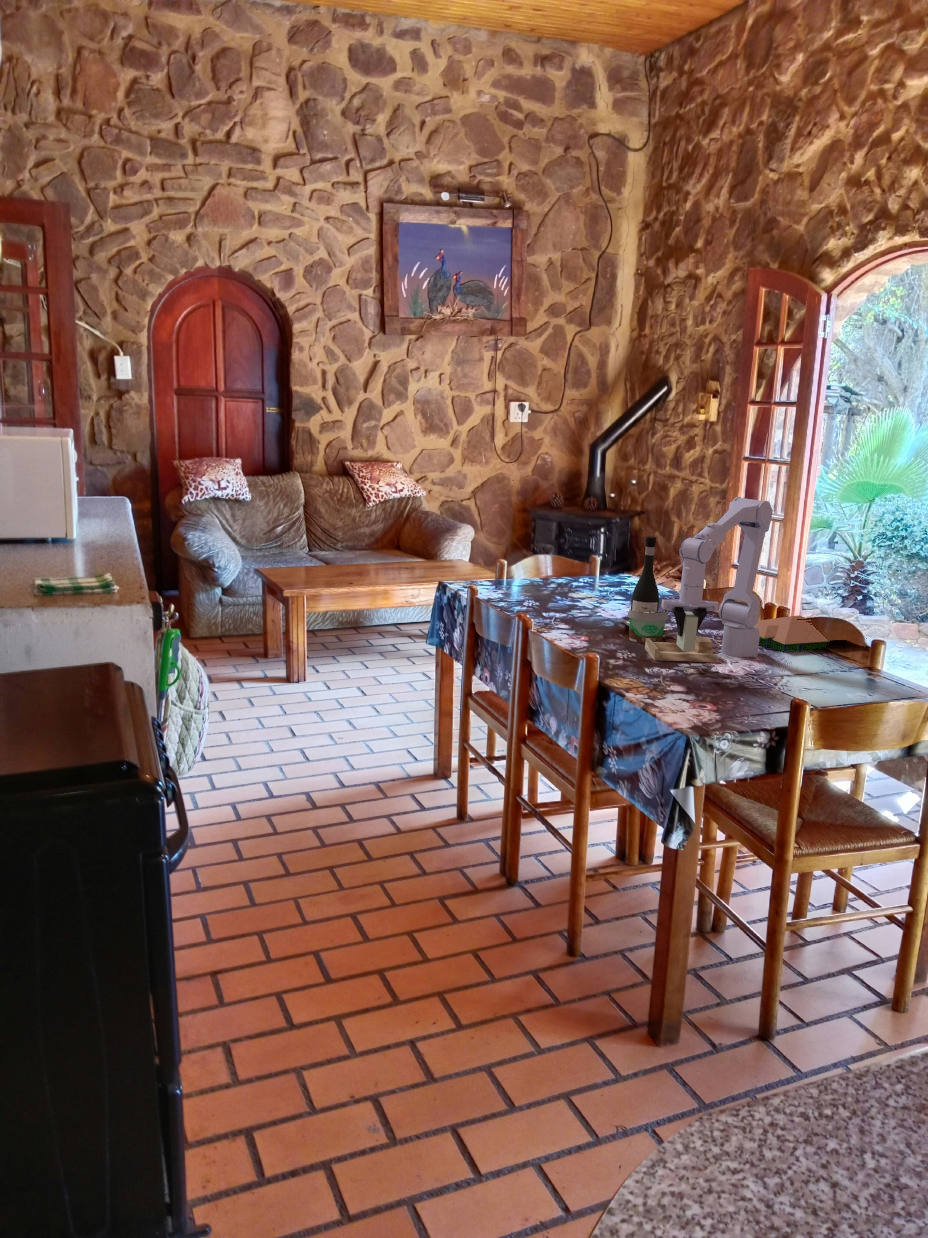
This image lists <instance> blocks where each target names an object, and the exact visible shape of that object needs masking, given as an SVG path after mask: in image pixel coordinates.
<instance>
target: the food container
mask: <svg viewBox="0 0 928 1238" xmlns="http://www.w3.org/2000/svg"><path fill="white" fill-rule="evenodd" d="M626 616H627V617H628V618H629V619H628V621H629V622H628V624H629V626H628V637H629V638H628V639H629V641H632V642H634V643H638V644H644V645H645V642H646V638H649V639H650V640H651V641H652V642H663V641H662V640H663V636H664V631H665V626H666V621H667V620H668V619H669V613H668V609H667V608H664V611H658V612H653V611H643V612H636V611H632V610H631V608H630V609H629V610H628V611H627V615H626Z"/></svg>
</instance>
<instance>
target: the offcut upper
mask: <svg viewBox="0 0 928 1238" xmlns="http://www.w3.org/2000/svg"><path fill="white" fill-rule="evenodd" d="M695 646H696V647H697V648H698V649H699V650H713V641H712V640H711V639H710V638H709V637H708V636H696V643H695Z"/></svg>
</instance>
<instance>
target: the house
mask: <svg viewBox="0 0 928 1238" xmlns="http://www.w3.org/2000/svg"><path fill="white" fill-rule="evenodd" d="M797 619H808V618H806V617H804V616H802V615H789V616H783V617H777V618H768V619H761V620H758V622H757V623H756V625H755V626H756V627H757V628H758V630H759V642H760V643H762V644H760V646H761V647H763V646H764V647H763V648H766V647H767V646H768V645H770V648H775V650H776V649H777V651H778V650H779V651H780V650H781V651H782V652H783V651H784V652H787V651H790V649H788V647H785V646H788V645H789V646H790V648H792V647H793V649H792V650H796V649H797V650H798V651H799V650H800V651H804V650H806V648H810V650H813V649H815V646H817V647H819V648H822V647H823V648H824V647H825V646H824V645H825V644H827V642H828V643H829V641H828V640H827V639H826V638H825V637H824V636H823V635H822V634H821V633H820V632H819V631H818V630H816V628H815V627H814V626H813V625H810V624H812V623H808V622H806V621H812V620H811V619H809V620H797ZM865 638H866V639H865V640H867V639H868V638H867V637H865ZM770 639H771V640H770ZM768 640H769V641H768ZM763 641H764V643H763ZM770 641H771V642H770ZM815 643H816V644H815ZM817 643H818V644H817ZM822 643H824V644H822ZM777 644H778V647H775V646H777ZM802 644H804V645H806V644H807V645H806V647H804V646H802ZM808 644H809V645H808ZM811 644H815V646H813V645H811ZM779 645H780V646H779ZM781 646H782V647H781ZM794 648H795V649H794ZM803 648H804V649H803ZM785 649H786V650H785ZM797 650H796V651H797Z"/></svg>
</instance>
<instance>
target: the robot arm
mask: <svg viewBox="0 0 928 1238" xmlns="http://www.w3.org/2000/svg"><path fill="white" fill-rule="evenodd" d="M773 512H774V510H773V508H772V505H771V503H770V502H769V501H768V500H759V499H751V498H744V497H740V496H736V497H734V498H733V500H732V501H730V502H729V505H728V510H727V511H726V513H724V515H723V516H722V517H721V518H719V520H718V521H717V522H708V524H707V525H705V527H704V528H702V529H701V530H700V531H699V532H698V533H697V534H695V536H693V537H687V538H686V539H685V540H683V541H682V543H681V545H680V548H679V556H680V559H681V560H680V564H681V566H682V572H681V580H680V581H681V583H680V588H679V589H680V590H679V598H676V599H675V598H673V599H661V608H662V609H671V610H672V613H673V616H674V619H675V622H676V628H677V633H678V635H679V636H682V635H683V625H684V619H685V615H686V613H685V612H684V611H685V610H686V609H688V610H692V613H693V614H694V615H696V616H697V617H698V624H697V633H696V636H697V634H698V631H699V629H700V628H701V625H702V622H703V621H704V620H705V619H706V617H707V615H708V610H713V611H718V616H719V619H720V621H721V624H722V625H723V633H722V642H721V643H722V644H721V650H720V652H721V654H723V655H725V656H728V657H734V658H735V657H736V658H743V657H744V658H746V657H749V658H753V657H755V658H757V657H758V653H759V646H760V643H759V630H758V628H757V627H756V626H755V625H756V623H757V622H758V621H760V620H759V619H760V613H761V612H760V606H761V601H760V599H758V597H757V596H756V595H755V593H754V588H755V583H756V578H757V573H758V569H759V564H760V561H761V560H760V559H761V556H762V550H763V546H764V540H765V537H766V533H767V532H769V530H770V525H771V523H772V517H773ZM736 526H738V527H739V528H741V529H742V531H743V532H744V537H743V542H742V547H741V552H740V555H739V556H740V557H739V561H738V566H737V571H736V575H735V581H734V585H733V588H732V590H729V592H726V593H725V594H724V595H723V599H722V601H721V603H720V602H718V601H714V600H713V601H711V600H703V593H704V585H705V578H706V576H705V575H706V566H707V563H708V562H709V561H710V559H711V558H712V556H713V553H714V552H715V549H716V548H717V547H718V546H720V544H722V543H723V541H725V539H726V537H727V534H726V533H728V532H729V531H730V530H732V529H733V528H735V527H736Z"/></svg>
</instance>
